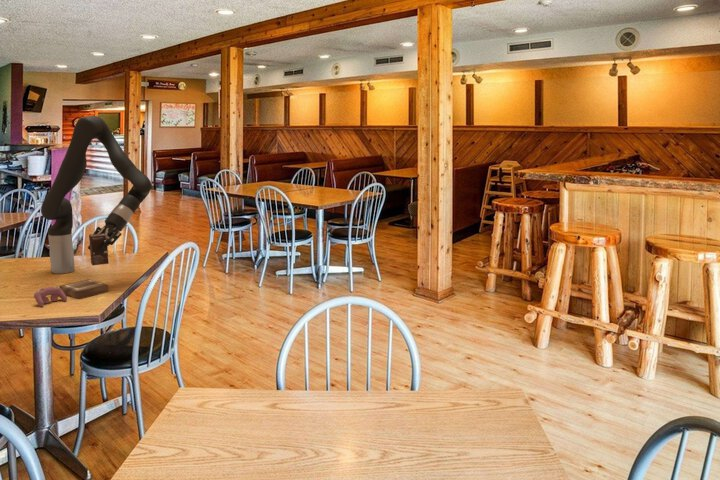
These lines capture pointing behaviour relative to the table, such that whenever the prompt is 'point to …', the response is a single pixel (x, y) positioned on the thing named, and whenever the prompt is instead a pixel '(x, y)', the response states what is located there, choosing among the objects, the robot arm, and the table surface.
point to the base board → (84, 288)
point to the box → (95, 242)
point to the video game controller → (52, 291)
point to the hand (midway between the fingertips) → (94, 250)
